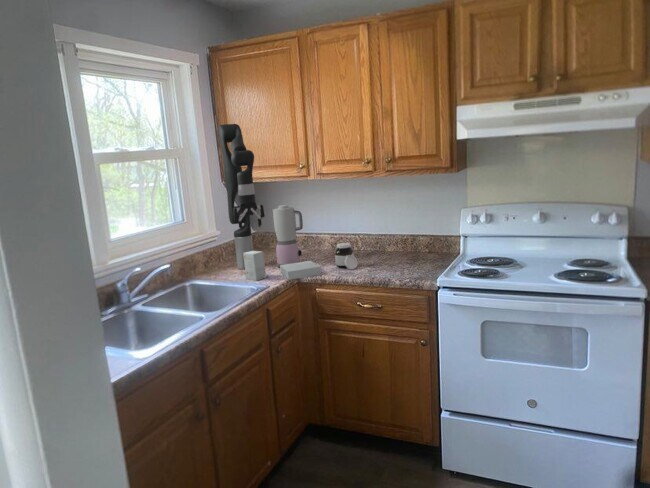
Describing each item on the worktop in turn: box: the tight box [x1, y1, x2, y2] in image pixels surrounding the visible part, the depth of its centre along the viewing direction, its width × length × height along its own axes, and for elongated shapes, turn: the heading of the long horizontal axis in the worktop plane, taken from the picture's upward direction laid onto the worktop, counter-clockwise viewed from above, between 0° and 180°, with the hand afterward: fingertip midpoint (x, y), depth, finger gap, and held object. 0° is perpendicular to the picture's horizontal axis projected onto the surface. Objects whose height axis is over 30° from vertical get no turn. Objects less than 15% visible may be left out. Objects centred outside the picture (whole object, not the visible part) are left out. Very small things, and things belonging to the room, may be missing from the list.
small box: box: [243, 250, 267, 281], centre depth 236 cm, size 8×6×13 cm
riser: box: [279, 260, 322, 281], centre depth 238 cm, size 16×16×4 cm
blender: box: [272, 204, 304, 269], centre depth 255 cm, size 16×12×32 cm
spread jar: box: [334, 242, 358, 270], centre depth 243 cm, size 12×11×12 cm
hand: (250, 227), depth 232 cm, fingers open, 8 cm apart
